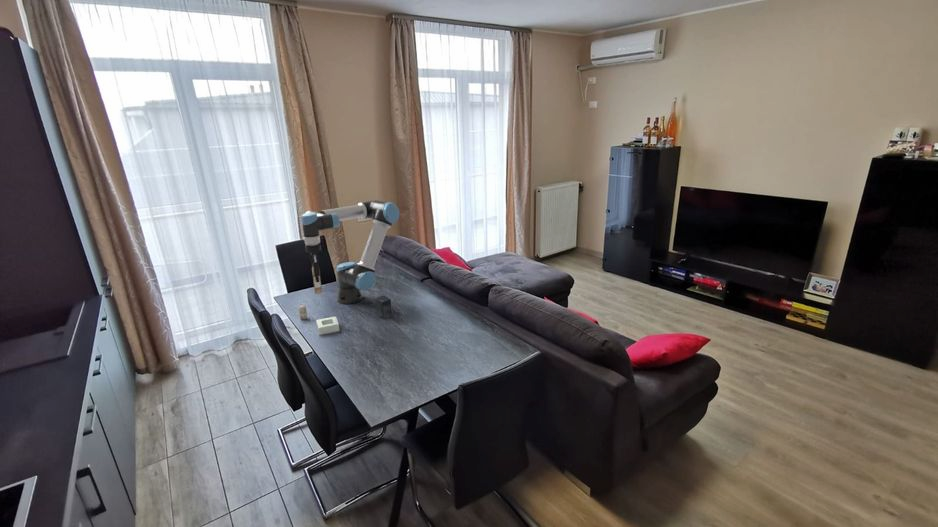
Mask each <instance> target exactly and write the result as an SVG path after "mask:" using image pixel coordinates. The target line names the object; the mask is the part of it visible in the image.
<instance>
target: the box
mask: <svg viewBox="0 0 938 527" xmlns="http://www.w3.org/2000/svg"><path fill="white" fill-rule="evenodd" d="M374 299H375V308H376V315H377V316H379V317H380V318H381V319H383V320H385V319H388V318H391V317H392V316H393V314H392V301H391V298H389V297H387V296H386V295H380V296H377V297H374Z"/></svg>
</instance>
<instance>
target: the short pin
mask: <svg viewBox="0 0 938 527" xmlns="http://www.w3.org/2000/svg"><path fill="white" fill-rule="evenodd" d="M298 311H299V318H300V320H307V319H308V312H307V306H306V305H299V306H298Z"/></svg>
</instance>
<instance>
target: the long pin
mask: <svg viewBox="0 0 938 527" xmlns="http://www.w3.org/2000/svg"><path fill="white" fill-rule="evenodd" d="M311 272H312V279H313V288H314V294H316V295H317V294H322V293H323V290H322V286H321V287H318V288H315V280H314V277H313V275H314V269H313V267H312V266H311ZM319 274H320V275H321V271H320V270H319ZM320 283H321V284H322V281H321V278H320Z"/></svg>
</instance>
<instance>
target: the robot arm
mask: <svg viewBox="0 0 938 527" xmlns="http://www.w3.org/2000/svg"><path fill="white" fill-rule="evenodd" d="M399 218H400V210H399V208H398V205H397V204H395V203H393V202H390V201H383V200H370V201H369V200H368V201H365V202H364V201H363V202H359V203H358V204H356V205H354V204H353V205H349V206H343V207H336V208H329V209H324V210H323V209H322V210H315V211H314V210H308V211H305V213H304V214H302V215H301V225H302V232H303V238H302V241H304V244H305V245H304V247H305V252H306V253H310V254H309V258H310V262H311V268H312V267H313V269H314V275H313V274H312V278H313V277H314V280H315V288H318V287H321V288H322V282H321V283H320V279H321V273H320V274H319V271H320V266H319V263H320V262H319V258H320V257H319V252H320V251H322V246H321V237H320V236H321V235H320V232H321V231H325V230H331V229H334V228H338V227H339V226H340V223H341V222H343V221H348V220H355V219H362V220H364V219H371V220H372V223H373V225H372V228H371V231H370V233H369V236H368V239H367V242H366V243H365V246H364V249H363V252H362V255H361V258H360V259H359V262H355V261H348V262H343V263H339V264H338V265H336V276H337V284H338V290H337V294H336V302H338V303H340V304H344V305H345V304H346V305H348V304H354V303H358V302H359V301H361V300H362V299H363V293H362V291H369V290H370V289H372V288H373V287H374V286H375V284H376V282H377V277H376V276H377V275H376V274H375V273H376V269H375V265H376V261H377V259H378V256H379V253H380V251H381V249H382V246H383V243H384V240H385V237H386V235H387V231H388V229H390V228H392V226H393V224H395V223H396V222H398V221H399Z"/></svg>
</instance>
